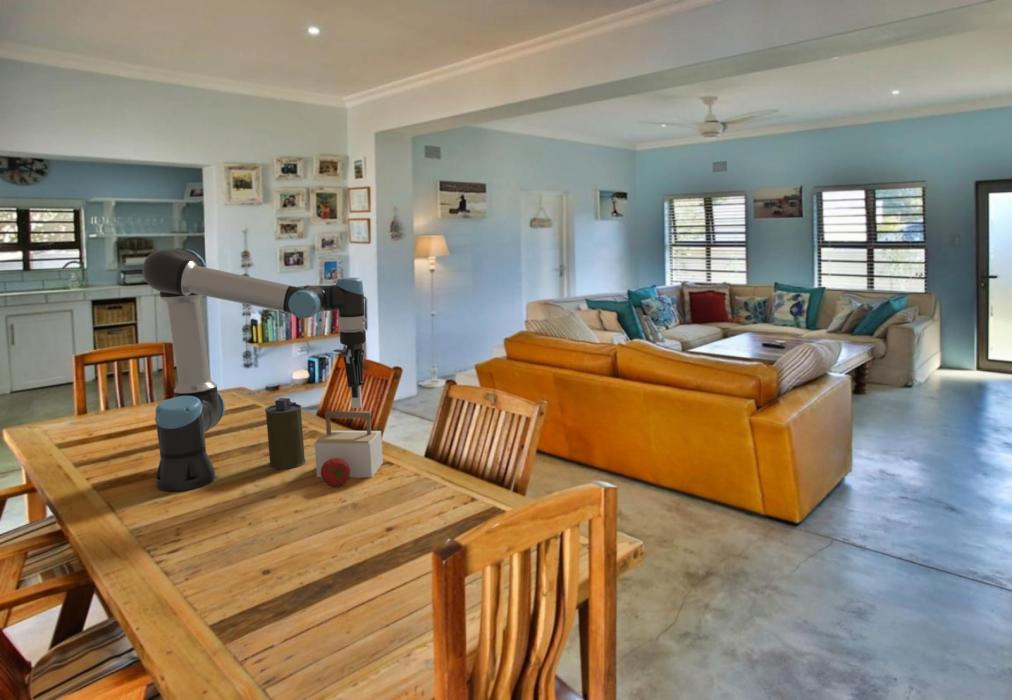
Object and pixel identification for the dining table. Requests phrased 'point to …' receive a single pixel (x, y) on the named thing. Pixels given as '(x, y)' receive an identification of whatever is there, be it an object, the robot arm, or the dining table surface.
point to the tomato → (335, 472)
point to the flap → (346, 436)
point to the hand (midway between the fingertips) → (356, 407)
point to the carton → (352, 455)
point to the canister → (285, 434)
